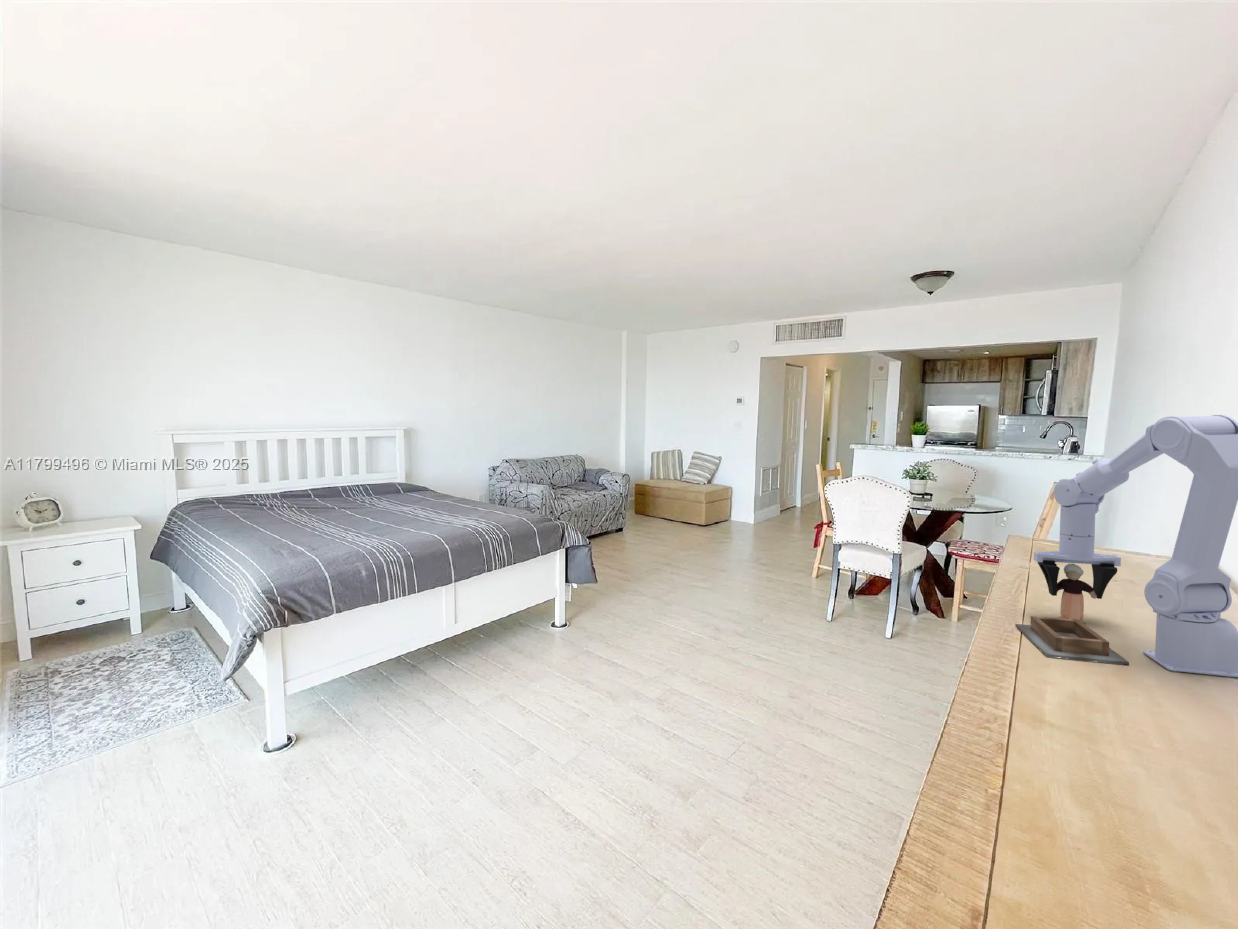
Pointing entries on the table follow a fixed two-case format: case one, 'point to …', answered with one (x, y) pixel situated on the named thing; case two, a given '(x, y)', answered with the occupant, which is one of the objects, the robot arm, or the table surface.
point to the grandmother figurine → (1073, 593)
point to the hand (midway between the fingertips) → (1074, 595)
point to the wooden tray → (1069, 640)
